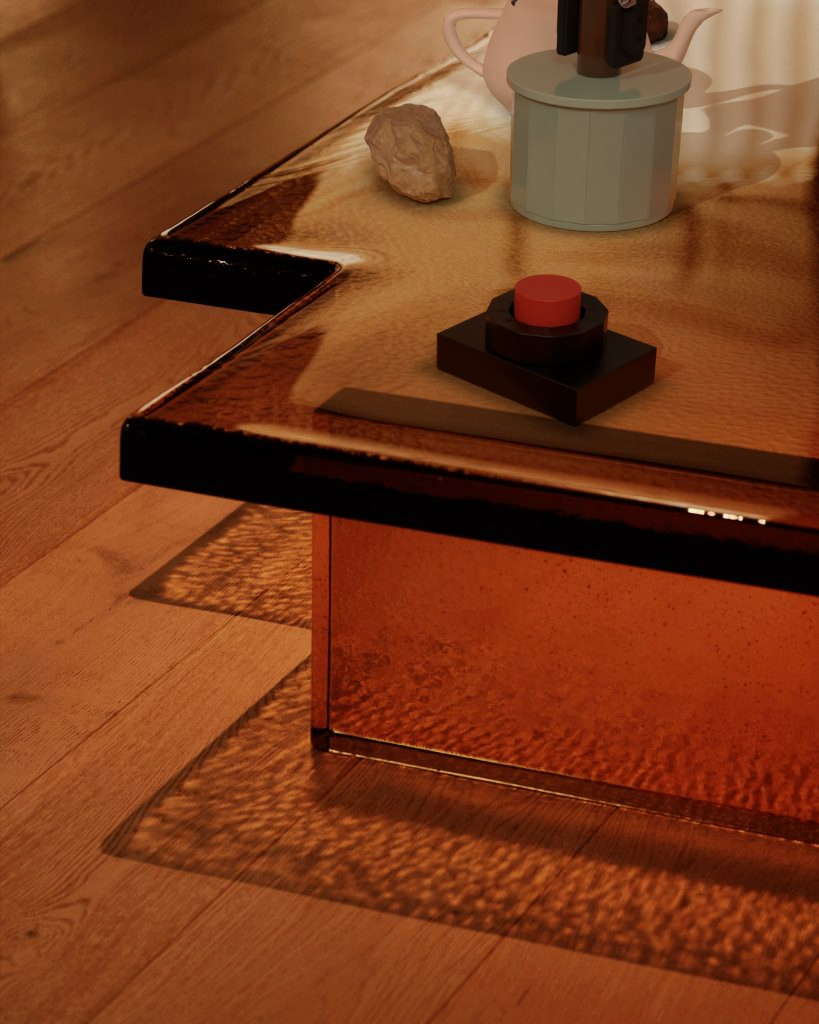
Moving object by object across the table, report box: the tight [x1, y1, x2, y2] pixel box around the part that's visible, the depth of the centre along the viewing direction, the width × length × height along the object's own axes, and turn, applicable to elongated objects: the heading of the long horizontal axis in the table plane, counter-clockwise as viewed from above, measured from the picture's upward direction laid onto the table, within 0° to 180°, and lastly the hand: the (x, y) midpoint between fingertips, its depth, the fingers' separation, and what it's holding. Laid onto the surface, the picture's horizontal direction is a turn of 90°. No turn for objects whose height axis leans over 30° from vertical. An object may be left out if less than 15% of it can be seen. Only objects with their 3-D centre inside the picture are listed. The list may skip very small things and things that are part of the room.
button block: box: [436, 288, 658, 427], centre depth 88 cm, size 10×7×4 cm
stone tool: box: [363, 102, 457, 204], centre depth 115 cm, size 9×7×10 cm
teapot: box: [442, 0, 724, 113], centre depth 127 cm, size 22×14×11 cm, turn 78°
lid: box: [506, 0, 693, 109], centre depth 106 cm, size 12×12×7 cm
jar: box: [508, 90, 685, 233], centre depth 110 cm, size 11×11×8 cm
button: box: [514, 273, 583, 327], centre depth 87 cm, size 4×4×2 cm
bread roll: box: [647, 0, 669, 43], centre depth 148 cm, size 11×11×5 cm
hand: (599, 54), depth 107 cm, fingers open, 3 cm apart
